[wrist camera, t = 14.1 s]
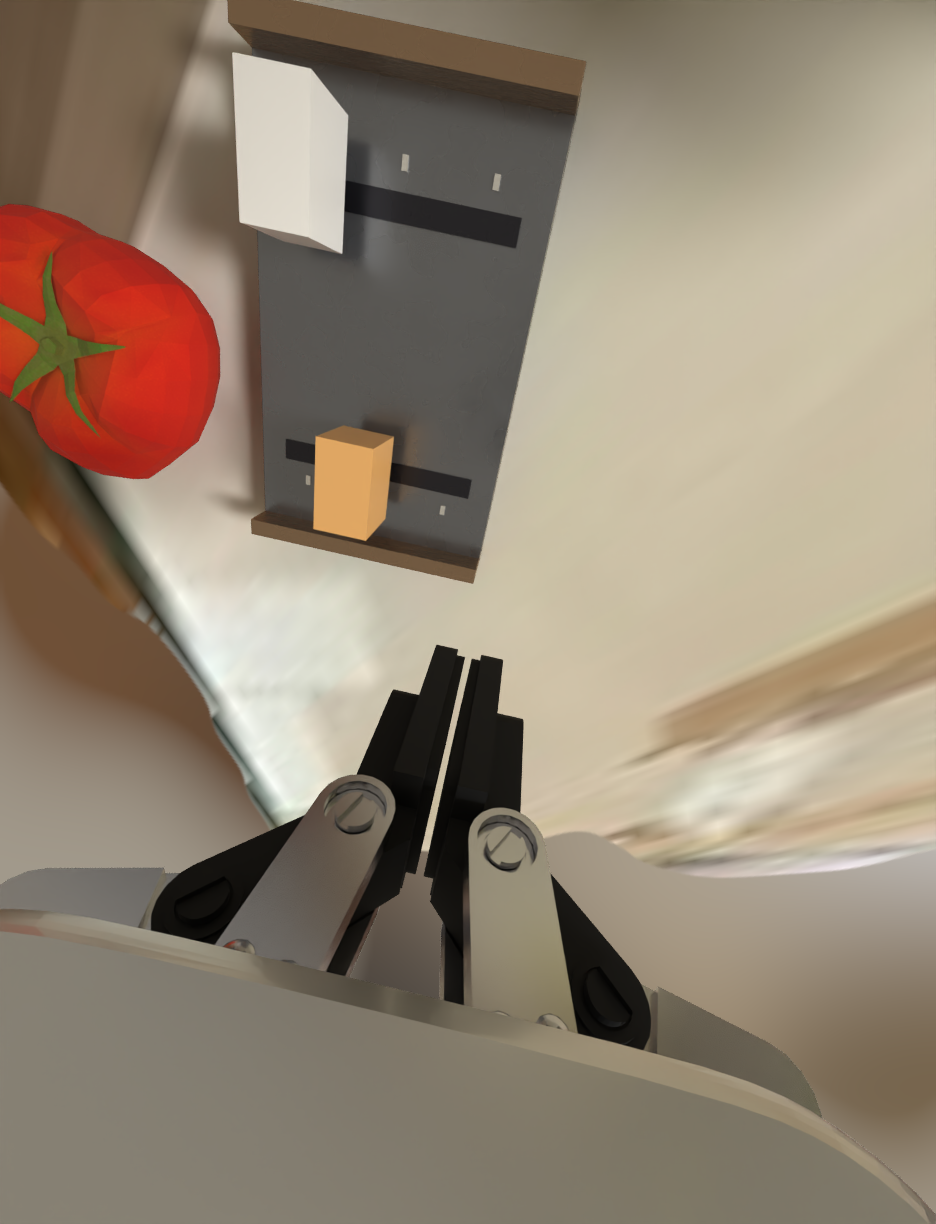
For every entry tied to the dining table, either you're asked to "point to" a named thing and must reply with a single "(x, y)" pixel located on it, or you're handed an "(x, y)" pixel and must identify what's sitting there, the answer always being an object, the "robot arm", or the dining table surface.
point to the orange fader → (351, 481)
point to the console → (410, 273)
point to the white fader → (289, 153)
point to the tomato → (102, 345)
